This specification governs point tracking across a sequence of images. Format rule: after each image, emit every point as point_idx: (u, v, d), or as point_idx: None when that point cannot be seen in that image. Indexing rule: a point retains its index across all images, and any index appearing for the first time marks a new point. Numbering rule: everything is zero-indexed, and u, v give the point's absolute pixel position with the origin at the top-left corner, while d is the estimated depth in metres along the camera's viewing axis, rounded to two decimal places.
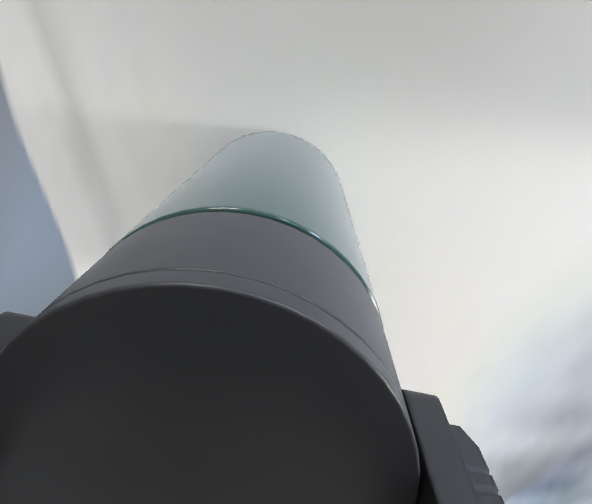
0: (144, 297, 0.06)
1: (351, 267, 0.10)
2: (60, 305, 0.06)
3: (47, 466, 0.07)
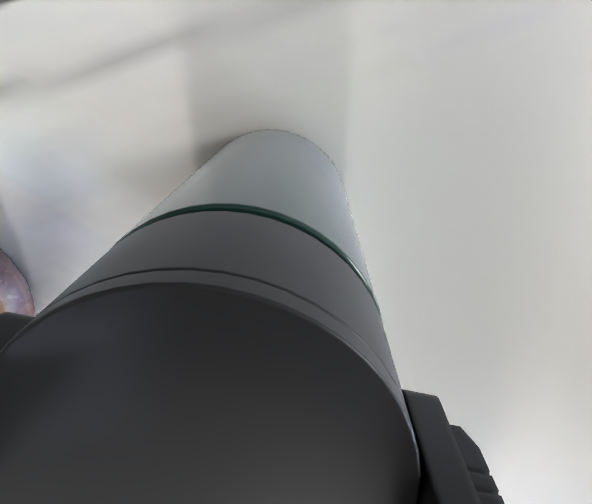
0: (143, 298, 0.06)
1: None
2: (59, 305, 0.06)
3: (47, 466, 0.07)
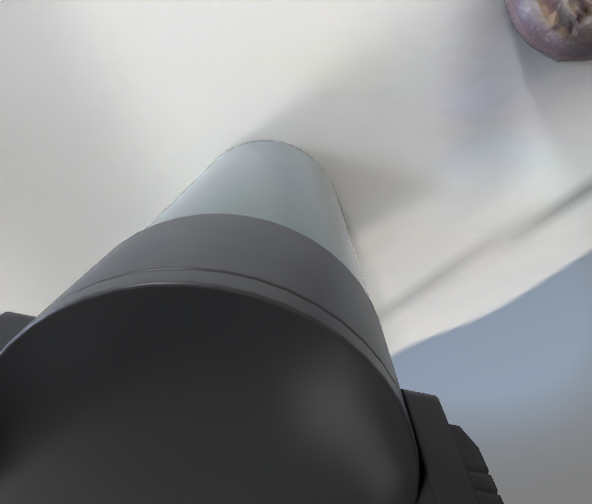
0: (145, 297, 0.06)
1: None
2: (61, 305, 0.06)
3: (46, 467, 0.07)
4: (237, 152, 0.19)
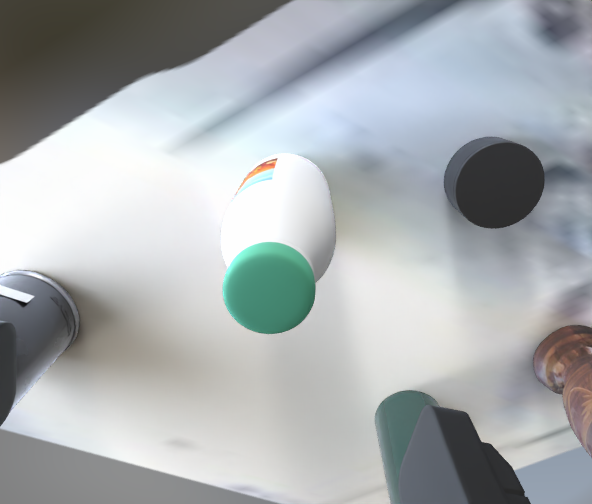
0: (500, 145, 0.36)
1: None
2: (485, 147, 0.37)
3: (472, 181, 0.37)
4: (415, 410, 0.46)
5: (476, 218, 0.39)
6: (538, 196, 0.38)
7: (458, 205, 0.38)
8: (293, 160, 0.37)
